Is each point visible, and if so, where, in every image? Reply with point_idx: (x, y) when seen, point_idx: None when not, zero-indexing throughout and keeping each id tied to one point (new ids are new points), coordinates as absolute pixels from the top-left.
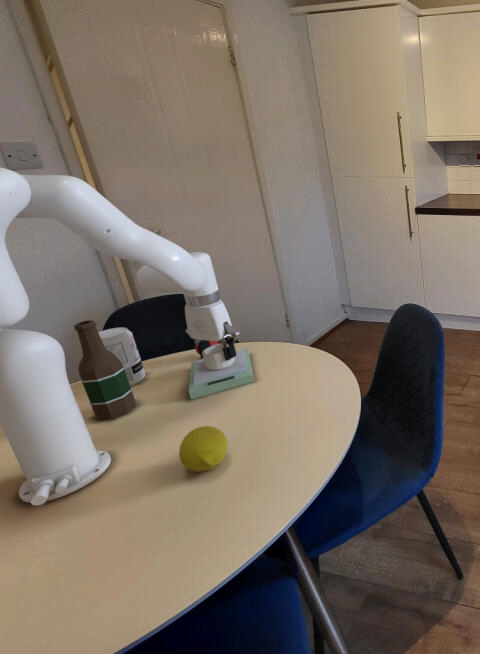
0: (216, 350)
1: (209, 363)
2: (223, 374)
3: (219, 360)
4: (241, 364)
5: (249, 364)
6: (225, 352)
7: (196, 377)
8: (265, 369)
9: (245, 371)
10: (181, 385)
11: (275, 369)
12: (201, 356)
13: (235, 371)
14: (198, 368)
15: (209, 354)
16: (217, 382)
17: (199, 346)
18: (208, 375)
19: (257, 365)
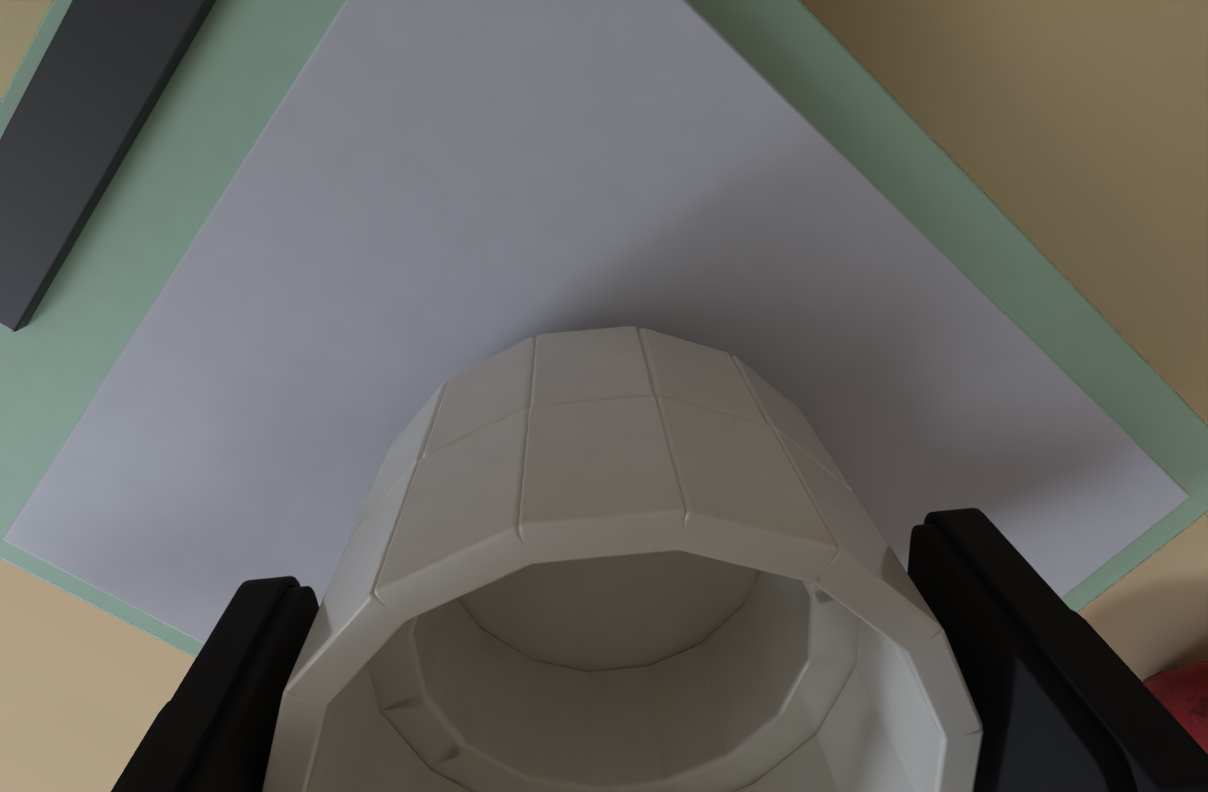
0: (822, 775)
1: (563, 389)
2: (195, 284)
3: (370, 520)
4: None
5: None
6: (141, 755)
7: (643, 37)
8: (136, 655)
9: (19, 493)
10: (992, 3)
11: (6, 685)
12: (970, 532)
13: (93, 426)
14: (916, 327)
15: (867, 640)
16: (50, 36)
17: (1142, 777)
18: (465, 176)
19: None
